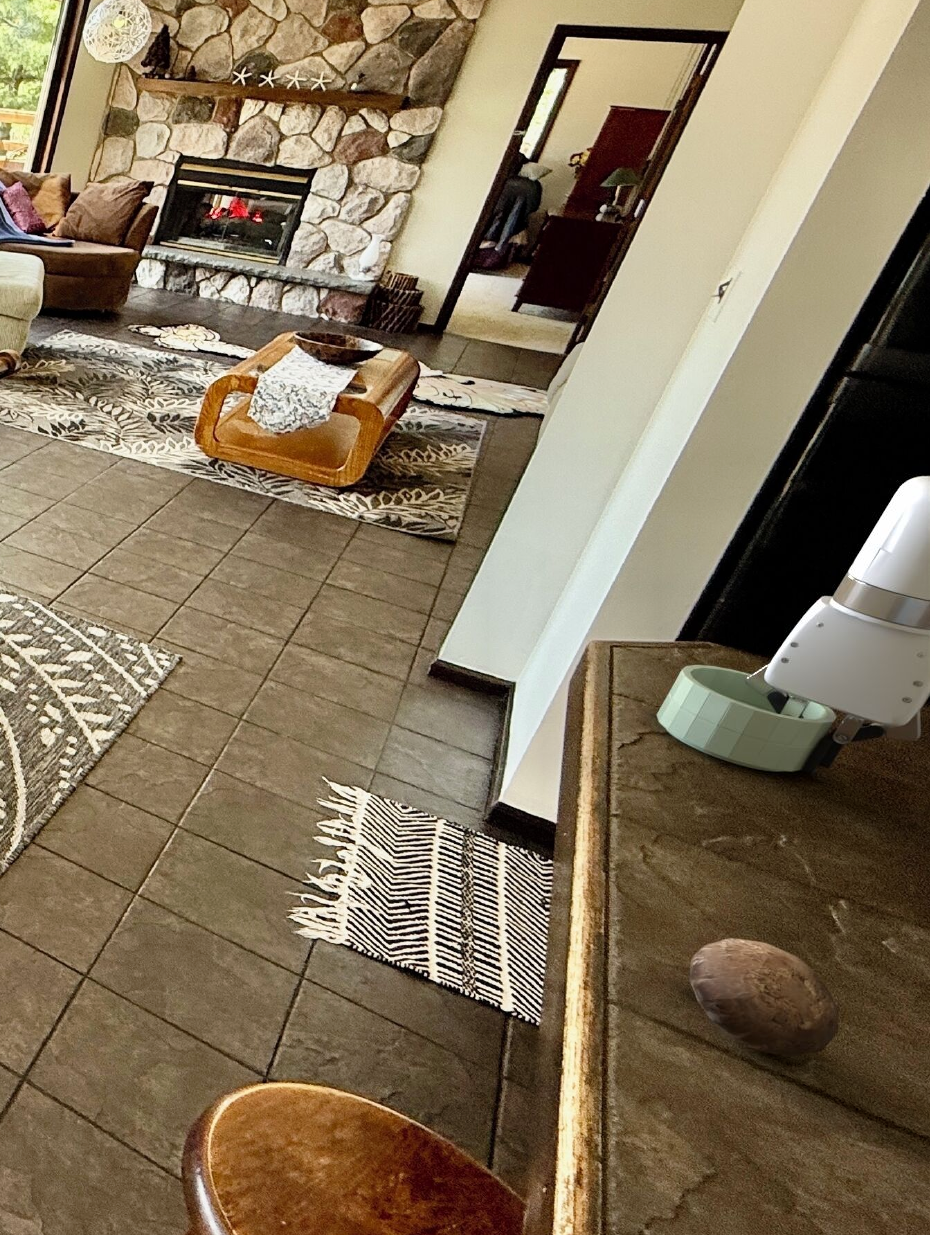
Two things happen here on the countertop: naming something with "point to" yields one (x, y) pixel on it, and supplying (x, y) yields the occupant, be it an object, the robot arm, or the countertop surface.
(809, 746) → the bowl
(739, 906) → the countertop surface
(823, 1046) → the mushroom
